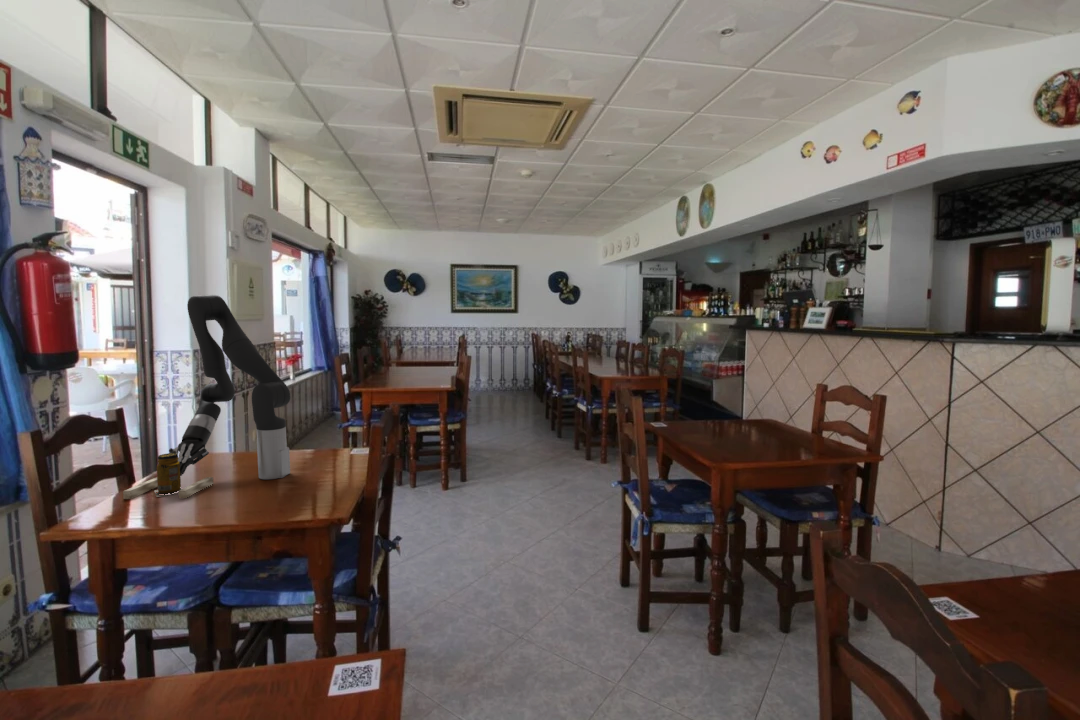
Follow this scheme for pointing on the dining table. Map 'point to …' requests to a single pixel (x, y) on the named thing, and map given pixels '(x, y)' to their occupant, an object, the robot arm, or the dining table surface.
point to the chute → (153, 484)
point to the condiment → (168, 474)
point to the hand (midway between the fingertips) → (177, 474)
